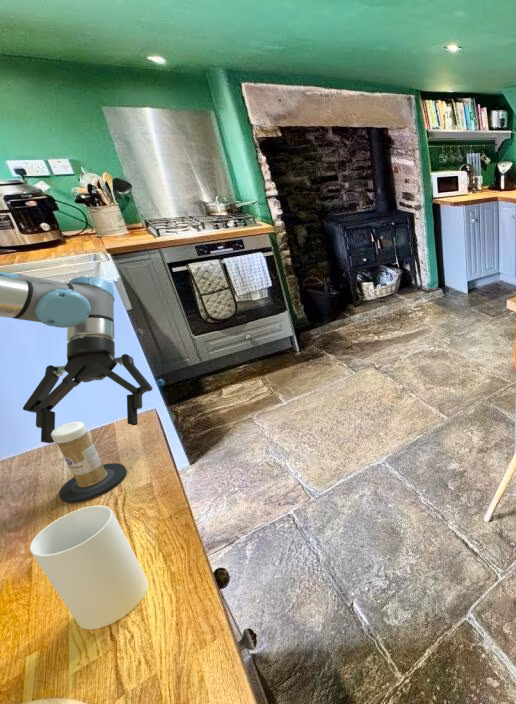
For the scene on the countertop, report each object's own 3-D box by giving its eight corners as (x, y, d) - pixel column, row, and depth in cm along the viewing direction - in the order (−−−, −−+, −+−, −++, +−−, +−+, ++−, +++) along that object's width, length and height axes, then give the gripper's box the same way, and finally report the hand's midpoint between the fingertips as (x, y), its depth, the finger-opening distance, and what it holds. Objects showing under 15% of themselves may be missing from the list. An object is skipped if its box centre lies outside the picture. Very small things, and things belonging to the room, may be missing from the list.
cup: (65, 639, 58) (14, 565, 52) (92, 586, 65) (50, 515, 58) (137, 616, 61) (97, 543, 55) (156, 567, 68) (122, 498, 62)
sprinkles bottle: (71, 488, 81) (42, 435, 76) (92, 471, 86) (66, 420, 80) (95, 488, 82) (67, 435, 76) (114, 471, 86) (90, 420, 80)
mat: (45, 502, 79) (43, 498, 79) (94, 465, 89) (92, 462, 88) (95, 503, 79) (93, 500, 79) (139, 466, 88) (138, 463, 88)
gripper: (166, 337, 101) (171, 420, 95) (26, 357, 90) (21, 452, 84) (153, 326, 94) (158, 414, 88) (1, 346, 83) (-6, 448, 77)
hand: (91, 433), depth 86 cm, fingers open, 13 cm apart
